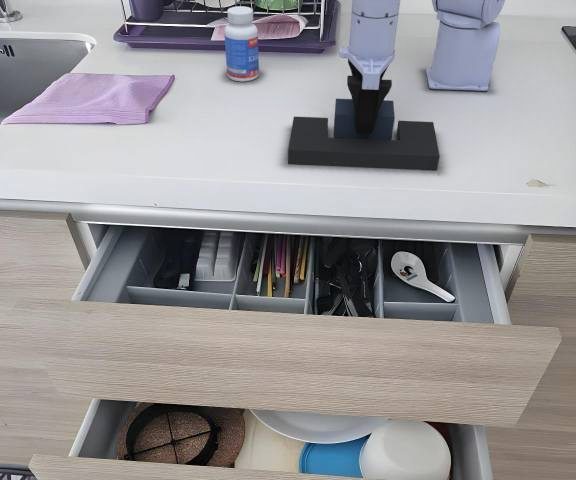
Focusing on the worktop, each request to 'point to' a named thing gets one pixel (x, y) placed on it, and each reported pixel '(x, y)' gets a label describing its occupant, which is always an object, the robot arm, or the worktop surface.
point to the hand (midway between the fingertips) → (363, 122)
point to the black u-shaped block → (364, 146)
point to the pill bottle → (241, 45)
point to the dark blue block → (346, 121)
